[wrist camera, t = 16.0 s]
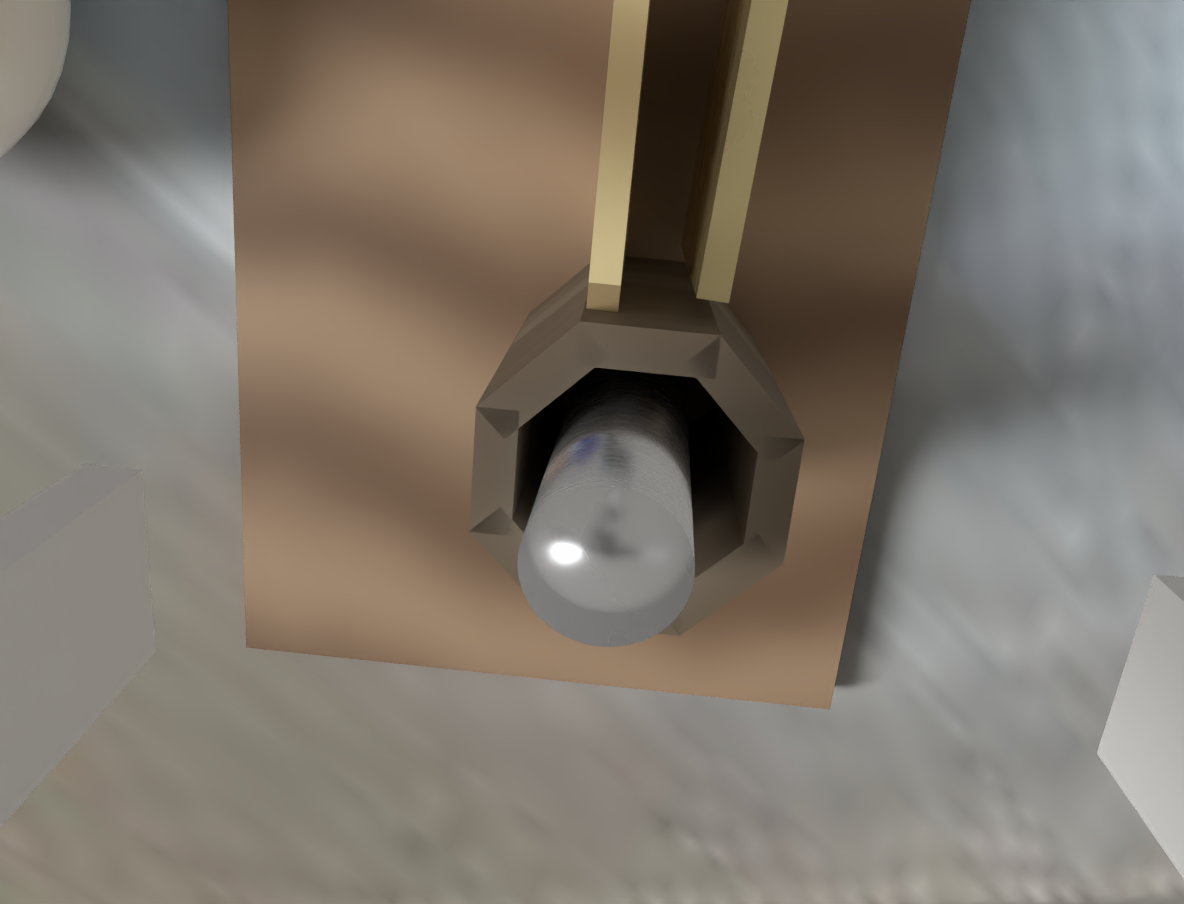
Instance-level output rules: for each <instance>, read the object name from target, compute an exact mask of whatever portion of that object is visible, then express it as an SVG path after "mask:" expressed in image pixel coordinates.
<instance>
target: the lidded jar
mask: <svg viewBox="0 0 1184 904" xmlns="http://www.w3.org/2000/svg"><path fill="white" fill-rule="evenodd" d="M70 17H71V3H70V0H0V157H2V156H3V155H4V154H6V153H7V152H8V151H10V150H11V149H12V148H13V147H14V146H15V144H16V143H17V142H18V141H19V140H20V139H21V138H22V137H23V136H24V135H25V133H26V132H27V131H28V130H29V129H30V128H31V127H32V126H33V125H34V123H35V122H36V121H37V120H38V119H39V117H40V115H41V114H42V112H43V111H44V109H45V107H46V106H47V104H48V102H49V101H50V99H51V98H52V96H53V93H54V91H55V88H56V86H57V83H58V81H59V78H60V76H61V73H62V70H63V67H64V62H65V57H66V53H67V48H68V43H69V34H70Z"/></svg>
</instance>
